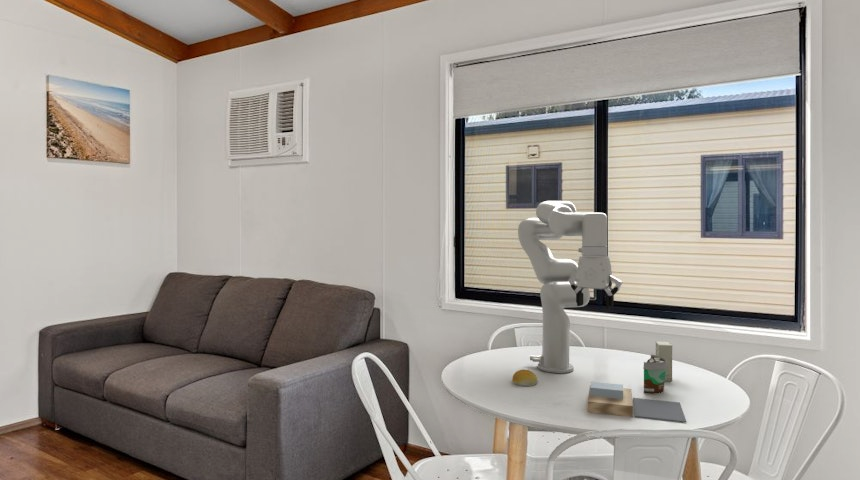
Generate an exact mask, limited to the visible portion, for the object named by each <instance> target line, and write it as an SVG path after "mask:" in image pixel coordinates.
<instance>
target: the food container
mask: <svg viewBox="0 0 860 480" xmlns="http://www.w3.org/2000/svg"><path fill="white" fill-rule="evenodd" d="M666 368H668V363H667V360H666V359H665V358H663V357H661V356H657V355H656V354H650V358H649V359H648V360H647V361H644V362H643V393H644V394H646V395H647V394H648V395H657V394H659V395H660V394H663V393H664V391H665V382H666V381H665V373H666Z"/></svg>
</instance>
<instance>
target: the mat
mask: <svg viewBox="0 0 860 480" xmlns="http://www.w3.org/2000/svg"><path fill="white" fill-rule="evenodd" d="M632 401H633V414H634V415H633V416H634V418H637V419H638V418H640V419H647V420H648V419H649V420H657V421H666V422H674V423H675V422H677V423H683V422H686V423H687V419H686V415H685V414H684V411H683V408H682V404H681V402H680V401H679V402H677V401H669V400H661V399H660V400H658V399H650V398H640V397H632Z"/></svg>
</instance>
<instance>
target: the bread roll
mask: <svg viewBox="0 0 860 480" xmlns="http://www.w3.org/2000/svg"><path fill="white" fill-rule="evenodd" d="M538 380H539V379H538V376H537V374H535V373H534V372H533V371H532V370H529V369H519V370H517V371H516V372H514V374H512V380H511V381H512V383H513V385H517V386H521V387H531V386H535V385H537V383H538V382H539V381H538Z"/></svg>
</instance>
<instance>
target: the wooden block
mask: <svg viewBox="0 0 860 480" xmlns="http://www.w3.org/2000/svg"><path fill="white" fill-rule="evenodd" d="M590 387H591V384H590V385H589V389H588V396H587V397H588V398H587V408H586V409H587V412H588V413H595V414H603V415H613V416H622V417H629V418H631V417H632V418H633V416H634V415H633V414H634V405H633V393H632V388H625V387H623V399H614V398H604V397H595V396H590Z"/></svg>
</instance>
